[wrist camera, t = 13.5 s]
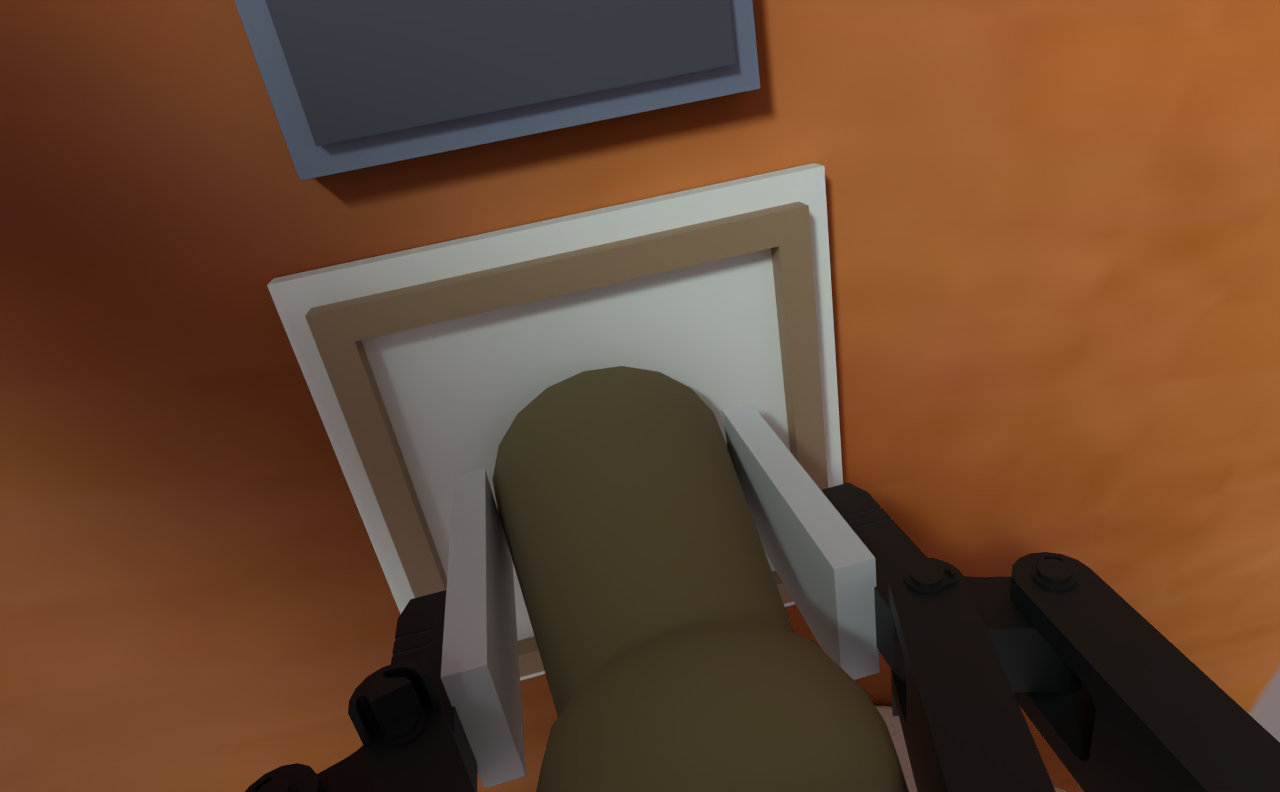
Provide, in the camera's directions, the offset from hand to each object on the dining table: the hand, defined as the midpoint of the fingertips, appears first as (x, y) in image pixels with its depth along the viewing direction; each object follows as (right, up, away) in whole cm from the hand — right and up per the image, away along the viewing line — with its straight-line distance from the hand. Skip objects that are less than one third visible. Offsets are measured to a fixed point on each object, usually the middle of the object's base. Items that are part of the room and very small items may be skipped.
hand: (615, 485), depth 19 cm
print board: (0, +1, +2) cm, 2 cm away
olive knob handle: (0, 0, 0) cm, 1 cm away
